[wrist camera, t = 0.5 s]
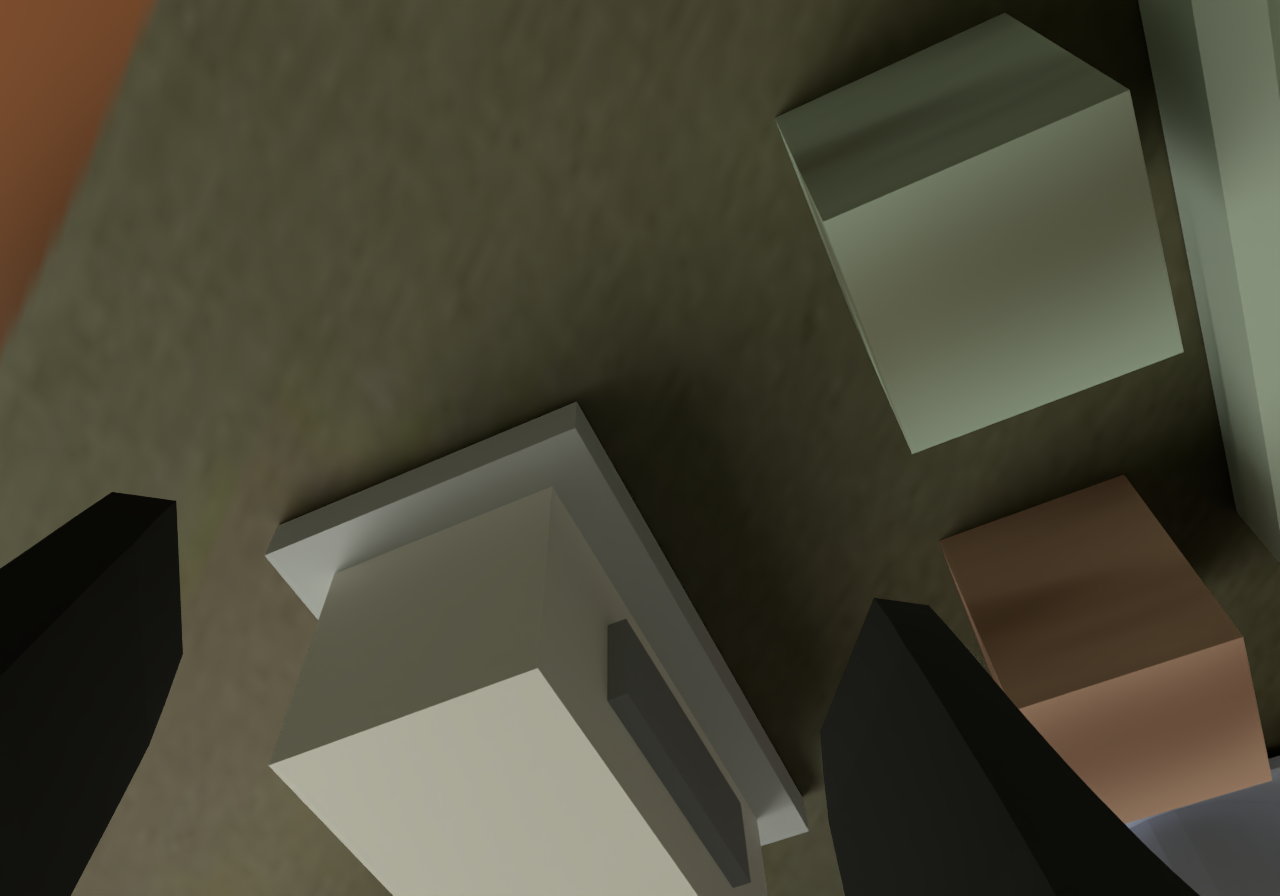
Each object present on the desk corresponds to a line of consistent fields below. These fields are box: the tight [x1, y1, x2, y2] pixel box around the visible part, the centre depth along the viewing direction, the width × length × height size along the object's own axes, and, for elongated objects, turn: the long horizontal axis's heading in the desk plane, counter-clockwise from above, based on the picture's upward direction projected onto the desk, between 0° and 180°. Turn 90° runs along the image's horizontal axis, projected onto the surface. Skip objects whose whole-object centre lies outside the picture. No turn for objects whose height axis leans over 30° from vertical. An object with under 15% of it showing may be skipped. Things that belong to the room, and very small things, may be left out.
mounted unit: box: [265, 401, 809, 896], centre depth 22 cm, size 13×7×6 cm, turn 25°
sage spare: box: [775, 13, 1183, 454], centre depth 17 cm, size 4×4×5 cm
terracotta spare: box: [939, 475, 1272, 824], centre depth 22 cm, size 4×4×5 cm
